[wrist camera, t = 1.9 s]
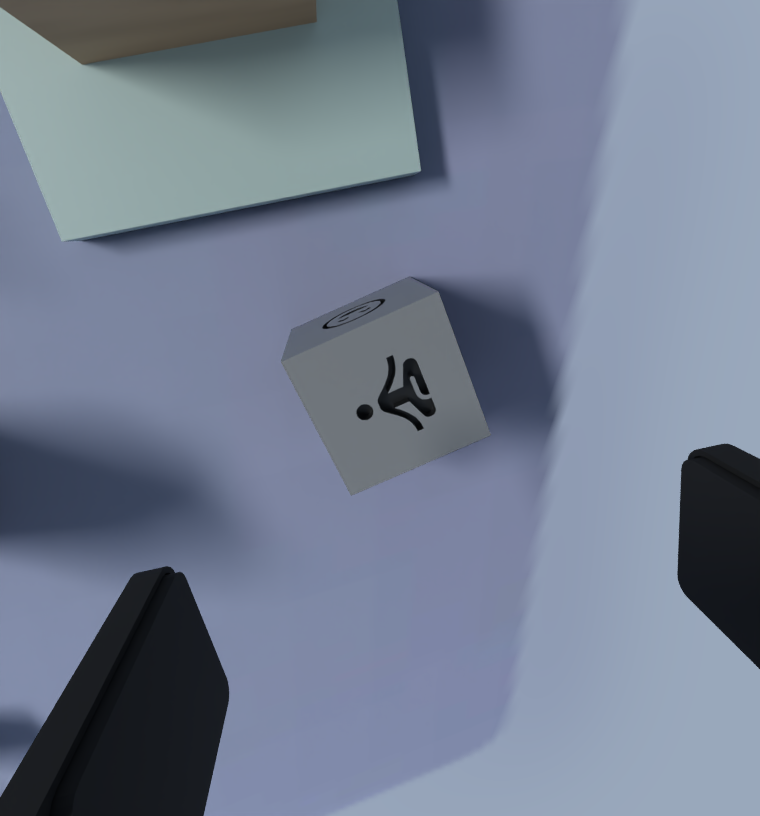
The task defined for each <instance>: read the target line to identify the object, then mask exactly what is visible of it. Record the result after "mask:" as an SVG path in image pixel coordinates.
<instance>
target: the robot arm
mask: <svg viewBox="0 0 760 816" xmlns="http://www.w3.org/2000/svg"><path fill="white" fill-rule="evenodd" d="M680 499H681V500H680V523H679V549H678V550H679V551H678V581H679V584H680V587H681V589H682V590H683V592H684V594H685V595H686V596H687V597H688V598H689V599H690V600H691V601H692V602H693V603H694V604H695V605H696V606H697V607H698V608H699V609H700V610H701V611H702V612H703V613H704V614H705V615H706V616H707V617H708V618H709V619H710V620H711V621H712V622H713V623H714V624H715V625H716V626H717V627H718V628H719V629H720V630H721V631H722V632H723V633H724V634H725V635H726V636H727V637H728V638H729V639H730V640H731V641H732V642H733V643H734V644H735V645H736V646H737V647H738V648H739V649H740V650H741V651H742V652H743V653H744V654H745V655H746V656H747V657H748V658H749V659H751V661H752V662H753V663H754V664H755V665H756V666H757V667H758V668H759V669H760V459H759V458H757V457H755V456H753V455H751V454H748V453H747V452H745V451H743V450H741V449H739V448H737V447H735V446H733V445H730V444H721V445H716V446H711V447H706V448H702V449H698V450H694V451H693V452H691V453H690V455H689V456H688V460H686V461H684V463H683V464H682V469H681V496H680ZM228 701H229V686H228V681H227V678H226V675H225V673H224V670H223V668H222V665H221V663H220V660H219V658H218V656H217V653H216V651H215V648H214V646H213V643H212V641H211V638H210V636H209V633H208V631H207V629H206V626H205V624H204V621H203V619H202V616H201V614H200V611H199V609H198V606H197V604H196V602H195V599H194V597H193V594H192V592H191V589H190V587H189V584H188V582H187V579H186V577H185V576H184V574H183V573H181V572H177V573H175V572H174V570H173V569H172V568H171V567H168V566H166V567H162V568H157V569H153V570H148V571H144V572H139V573H136V574H134V575H133V576H132V577H131V578H130V580H129V582H128V583H127V585H126V587H125V588H124V590H123V592H122V593H121V595H120V597H119V598H118V600H117V602H116V604H115V605H114V607H113V609H112V610H111V612H110V614H109V615H108V617H107V619H106V620H105V622H104V624H103V625H102V627H101V629H100V630H99V632H98V634H97V636H96V637H95V639H94V641H93V642H92V644H91V646H90V647H89V649H88V651H87V652H86V654H85V656H84V657H83V659H82V661H81V662H80V664H79V666H78V668H77V669H76V671H75V673H74V674H73V676H72V678H71V679H70V681H69V683H68V684H67V686H66V688H65V689H64V691H63V693H62V694H61V696H60V698H59V700H58V701H57V703H56V705H55V706H54V708H53V710H52V711H51V713H50V715H49V716H48V718H47V720H46V721H45V723H44V725H43V726H42V728H41V730H40V732H39V733H38V735H37V737H36V738H35V740H34V742H33V743H32V745H31V747H30V748H29V750H28V752H27V753H26V755H25V757H24V758H23V760H22V762H21V764H20V765H19V767H18V769H17V770H16V772H15V774H14V775H13V777H12V779H11V780H10V782H9V784H8V785H7V787H6V789H5V790H4V792H3V794H2V795H1V797H0V816H203V815H204V811H205V806H206V802H207V797H208V793H209V788H210V784H211V779H212V775H213V770H214V765H215V761H216V756H217V752H218V747H219V743H220V738H221V734H222V729H223V725H224V720H225V716H226V711H227V707H228Z"/></svg>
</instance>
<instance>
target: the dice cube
mask: <svg viewBox="0 0 760 816" xmlns="http://www.w3.org/2000/svg"><path fill="white" fill-rule="evenodd" d="M281 363H282V365H283V367H284V369H285V371H286V372H287V374H288V376H289V378H290V380H291V382H292V384H293V386H294V388H295V390H296V392H297V393H298V395H299V397H300V399H301V401H302V403H303V405H304V407H305V409H306V411H307V413H308V414H309V416H310V418H311V420H312V422H313V424H314V426H315V428H316V430H317V432H318V434H319V435H320V437H321V439H322V441H323V443H324V445H325V447H326V449H327V451H328V453H329V455H330V456H331V458H332V460H333V462H334V464H335V466H336V468H337V470H338V472H339V474H340V475H341V477H342V479H343V481H344V483H345V485H346V487H347V489H348V491H349V493H350V495H351V496H352V495H354V494H356V493H359V492H361V491H363V490H365V489H368V488H370V487H372V486H375V485H377V484H379V483H382V482H384V481H386V480H389V479H391V478H393V477H396V476H398V475H400V474H402V473H405V472H407V471H409V470H412V469H414V468H416V467H419V466H421V465H423V464H426V463H428V462H430V461H433V460H435V459H437V458H439V457H442V456H444V455H446V454H449V453H451V452H453V451H456V450H458V449H460V448H463V447H465V446H467V445H470V444H472V443H474V442H476V441H479V440H481V439H483V438H486V437H488V436H490V435H491V434H490V431H489V428H488V426H487V423H486V420H485V417H484V415H483V412H482V409H481V406H480V404H479V401H478V398H477V396H476V393H475V390H474V387H473V385H472V382H471V379H470V376H469V374H468V371H467V368H466V365H465V363H464V360H463V357H462V354H461V352H460V349H459V346H458V344H457V341H456V338H455V335H454V333H453V330H452V327H451V324H450V322H449V319H448V316H447V313H446V311H445V308H444V305H443V302H442V300H441V297H440V294H439V292H438V291H436V290H434V289H432V288H431V287H429V286H427V285H425V284H423V283H421V282H419V281H417V280H415V279H413V278H411V277H407V278H405V279H403V280H400V281H398V282H396V283H394V284H392V285H389V286H387V287H385V288H383V289H380V290H378V291H376V292H374V293H372V294H369V295H367V296H365V297H363V298H360V299H358V300H356V301H354V302H352V303H349V304H347V305H345V306H343V307H340V308H338V309H336V310H334V311H331V312H329V313H327V314H325V315H323V316H320V317H318V318H316V319H314V320H311V321H309V322H307V323H305V324H303V325H300V326H298V327H296V328H294V329H291V332H290V335H289V339H288V342H287V345H286V348H285V351H284V354H283V357H282V360H281Z"/></svg>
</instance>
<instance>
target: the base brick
mask: <svg viewBox="0 0 760 816" xmlns="http://www.w3.org/2000/svg"><path fill="white" fill-rule="evenodd" d="M0 8H2V9H3V10H5V11H6V12H8V13H9V14H10V15H12V16H13V17H15V18H16V19H18V20H19V21H20V22H22V23H23V24H25V25H26V26H28V27H29V28H30V29H32V30H33V31H35V32H36V33H38V34H39V35H40V36H42V37H43V38H45V39H46V40H48V41H49V42H50V43H52V44H53V45H55V46H56V47H58V48H59V49H60V50H62V51H63V52H65V53H66V54H68V55H69V56H70V57H72V58H73V59H75V60H76V61H78V62H79V63H80V64H82V65H83V64H89V63H94V62H100V61H105V60H111V59H116V58H122V57H127V56H133V55H138V54H144V53H149V52H155V51H160V50H166V49H171V48H177V47H182V46H188V45H193V44H199V43H204V42H210V41H215V40H221V39H226V38H232V37H237V36H243V35H248V34H254V33H259V32H265V31H270V30H276V29H281V28H287V27H292V26H298V25H303V24H309V23H314V22H317V12H316V0H0Z"/></svg>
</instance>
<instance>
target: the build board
mask: <svg viewBox="0 0 760 816" xmlns="http://www.w3.org/2000/svg"><path fill="white" fill-rule="evenodd" d="M316 12H317V22H314V23H309V24H303V25H298V26H292V27H287V28H281V29H276V30H270V31H265V32H259V33H254V34H248V35H243V36H237V37H232V38H226V39H221V40H215V41H210V42H204V43H199V44H193V45H188V46H182V47H177V48H171V49H166V50H160V51H155V52H149V53H144V54H138V55H133V56H127V57H122V58H116V59H111V60H105V61H100V62H94V63H89V64H83V65H82V64H80V63H79V62H78V61H76V60H75V59H73V58H72V57H70V56H69V55H68V54H66V53H65V52H63V51H62V50H60V49H59V48H58V47H56V46H55V45H53V44H52V43H50V42H49V41H48V40H46V39H45V38H43V37H42V36H40V35H39V34H38V33H36V32H35V31H33V30H32V29H30V28H29V27H28V26H26V25H25V24H23V23H22V22H20V21H19V20H18V19H16V18H15V17H13V16H12V15H10V14H9V13H8V12H6V11H5V10H3V9H2V8H0V91H1V94H2V96H3V99H4V101H5V103H6V106H7V108H8V111H9V113H10V116H11V118H12V121H13V123H14V126H15V128H16V130H17V133H18V135H19V138H20V140H21V143H22V145H23V148H24V150H25V152H26V155H27V157H28V160H29V162H30V165H31V167H32V170H33V172H34V174H35V177H36V179H37V182H38V184H39V187H40V189H41V192H42V194H43V196H44V199H45V201H46V204H47V206H48V209H49V211H50V214H51V216H52V219H53V221H54V223H55V226H56V228H57V231H58V233H59V236H60V238H61V241H82V240H87V239H92V238H97V237H102V236H107V235H112V234H117V233H122V232H128V231H133V230H138V229H143V228H148V227H153V226H158V225H163V224H168V223H173V222H178V221H183V220H189V219H194V218H199V217H204V216H209V215H214V214H219V213H224V212H229V211H234V210H239V209H244V208H250V207H255V206H260V205H265V204H270V203H275V202H280V201H285V200H290V199H295V198H300V197H305V196H311V195H316V194H321V193H326V192H331V191H336V190H341V189H346V188H351V187H356V186H361V185H366V184H371V183H377V182H382V181H387V180H392V179H397V178H402V177H407V176H412V175H415V174H417V173H419V172H420V171H421V167H420V160H419V153H418V146H417V138H416V131H415V124H414V117H413V110H412V102H411V95H410V88H409V81H408V74H407V66H406V59H405V52H404V45H403V38H402V30H401V23H400V16H399V9H398V1H397V0H316Z"/></svg>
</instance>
